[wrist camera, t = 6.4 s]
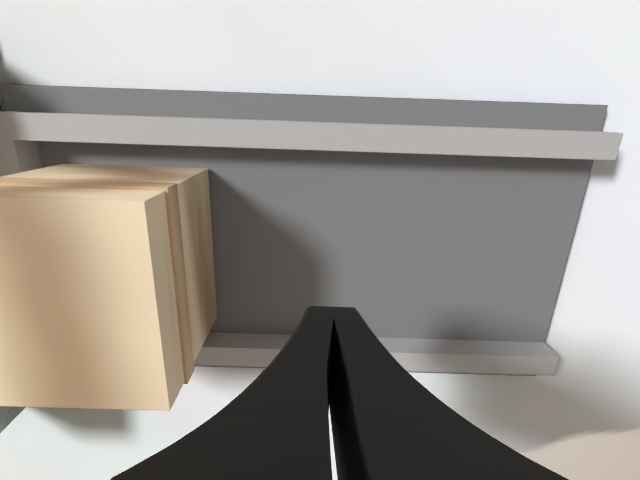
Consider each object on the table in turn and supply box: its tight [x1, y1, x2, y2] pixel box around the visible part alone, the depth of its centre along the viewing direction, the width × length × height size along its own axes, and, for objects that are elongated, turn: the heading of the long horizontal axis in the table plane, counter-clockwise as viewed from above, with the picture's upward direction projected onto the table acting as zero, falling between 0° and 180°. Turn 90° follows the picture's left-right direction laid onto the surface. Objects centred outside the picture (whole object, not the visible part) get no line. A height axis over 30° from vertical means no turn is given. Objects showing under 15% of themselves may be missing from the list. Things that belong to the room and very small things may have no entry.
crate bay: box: [0, 84, 623, 376], centre depth 17 cm, size 24×13×2 cm, turn 88°
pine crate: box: [0, 164, 217, 411], centre depth 14 cm, size 6×7×6 cm
